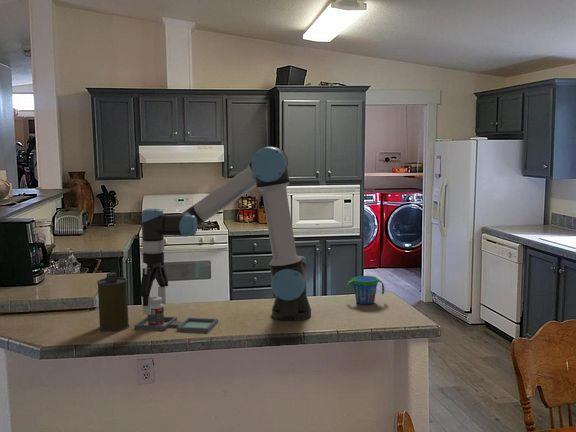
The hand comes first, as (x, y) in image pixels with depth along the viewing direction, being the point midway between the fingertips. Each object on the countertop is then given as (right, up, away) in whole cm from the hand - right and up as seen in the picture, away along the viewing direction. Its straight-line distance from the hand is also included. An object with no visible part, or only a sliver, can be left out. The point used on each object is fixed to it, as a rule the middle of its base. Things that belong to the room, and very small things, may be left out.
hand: (154, 309), depth 211 cm
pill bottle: (0, -6, +1) cm, 6 cm away
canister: (-14, -7, -2) cm, 16 cm away
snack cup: (+81, -2, +27) cm, 85 cm away
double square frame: (+8, -6, -1) cm, 10 cm away
